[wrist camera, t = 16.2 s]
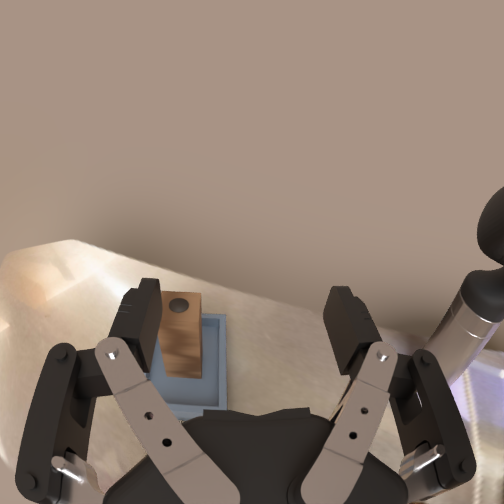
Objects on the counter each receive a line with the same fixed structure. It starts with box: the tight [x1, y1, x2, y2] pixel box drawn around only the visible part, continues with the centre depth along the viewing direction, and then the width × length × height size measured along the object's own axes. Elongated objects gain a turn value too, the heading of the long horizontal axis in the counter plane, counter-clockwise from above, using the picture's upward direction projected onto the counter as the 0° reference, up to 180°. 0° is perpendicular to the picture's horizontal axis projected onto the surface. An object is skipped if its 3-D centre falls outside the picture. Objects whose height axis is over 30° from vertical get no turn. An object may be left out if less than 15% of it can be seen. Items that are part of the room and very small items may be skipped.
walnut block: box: [158, 291, 203, 379], centre depth 36 cm, size 5×5×12 cm
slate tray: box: [144, 313, 227, 421], centre depth 39 cm, size 12×18×3 cm, turn 4°
